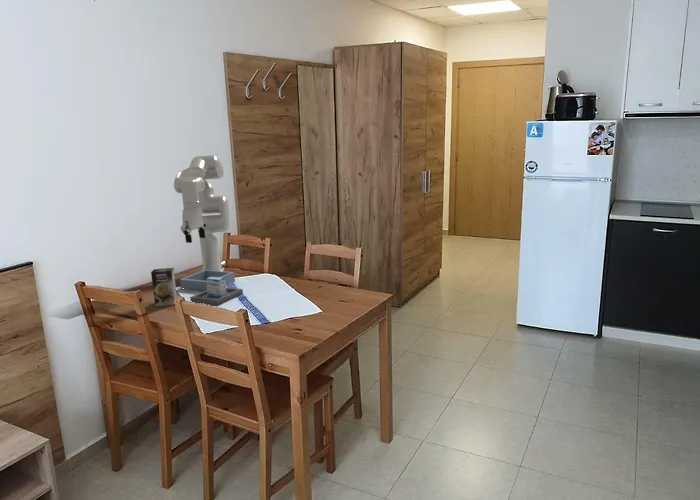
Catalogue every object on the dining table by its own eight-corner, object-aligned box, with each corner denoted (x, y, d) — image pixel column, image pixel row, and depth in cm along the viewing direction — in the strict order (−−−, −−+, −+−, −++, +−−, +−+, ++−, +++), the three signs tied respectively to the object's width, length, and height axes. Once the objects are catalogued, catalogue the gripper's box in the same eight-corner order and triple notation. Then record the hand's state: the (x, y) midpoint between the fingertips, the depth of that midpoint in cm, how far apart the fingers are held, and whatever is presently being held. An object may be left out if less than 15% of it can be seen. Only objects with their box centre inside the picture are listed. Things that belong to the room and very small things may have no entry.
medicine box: (207, 296, 251) (205, 278, 249) (213, 293, 255) (211, 276, 253) (221, 297, 248) (219, 279, 246) (227, 295, 252) (225, 277, 250)
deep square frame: (206, 278, 286) (205, 269, 285) (235, 281, 277) (234, 272, 276) (181, 288, 269) (179, 279, 268) (210, 292, 261) (209, 282, 260)
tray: (216, 291, 262) (215, 286, 262) (242, 293, 255) (242, 288, 255) (190, 302, 247) (190, 297, 246) (218, 305, 240) (217, 300, 239)
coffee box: (154, 306, 243) (150, 272, 239) (157, 302, 249) (153, 268, 246) (175, 304, 244) (171, 270, 241) (177, 300, 251) (173, 267, 247)
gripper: (197, 201, 265) (201, 235, 269) (172, 208, 250) (177, 244, 254) (209, 202, 262) (213, 236, 266) (185, 209, 247) (189, 245, 251)
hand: (195, 240), depth 260 cm, fingers open, 9 cm apart
